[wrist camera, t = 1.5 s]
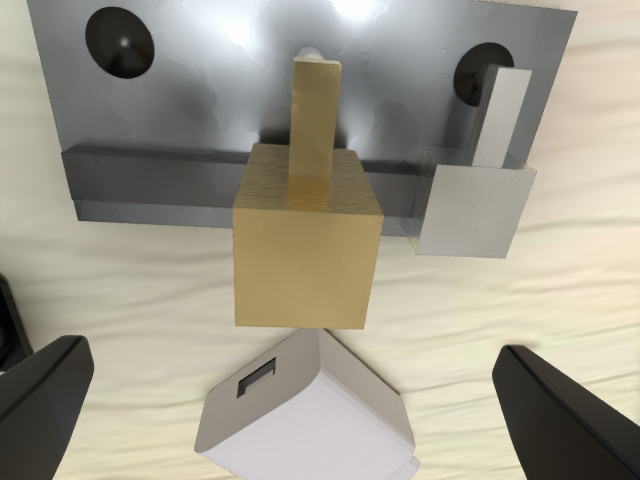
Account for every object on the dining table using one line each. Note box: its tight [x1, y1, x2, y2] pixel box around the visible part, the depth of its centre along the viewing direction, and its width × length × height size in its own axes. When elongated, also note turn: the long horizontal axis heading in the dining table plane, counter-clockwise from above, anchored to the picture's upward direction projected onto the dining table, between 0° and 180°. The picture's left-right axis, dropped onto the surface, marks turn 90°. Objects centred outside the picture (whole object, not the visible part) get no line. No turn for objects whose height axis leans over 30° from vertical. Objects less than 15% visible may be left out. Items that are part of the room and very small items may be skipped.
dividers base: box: [27, 0, 578, 259], centre depth 16 cm, size 10×20×4 cm, turn 85°
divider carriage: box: [233, 47, 384, 329], centre depth 14 cm, size 8×4×7 cm, turn 175°
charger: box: [194, 328, 420, 480], centre depth 26 cm, size 5×9×15 cm
